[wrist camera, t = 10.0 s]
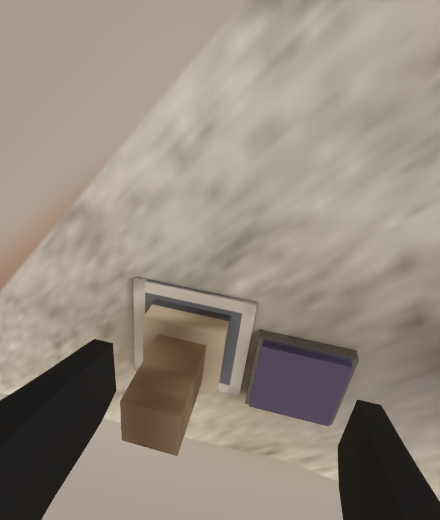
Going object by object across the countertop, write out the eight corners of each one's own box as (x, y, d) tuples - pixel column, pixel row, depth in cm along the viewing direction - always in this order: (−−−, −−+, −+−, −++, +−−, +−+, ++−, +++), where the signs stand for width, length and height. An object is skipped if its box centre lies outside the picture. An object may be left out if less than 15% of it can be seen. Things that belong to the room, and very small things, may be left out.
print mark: (257, 302, 21) (257, 305, 20) (239, 392, 24) (239, 396, 24) (135, 276, 22) (133, 279, 21) (136, 366, 25) (134, 369, 25)
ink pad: (356, 351, 21) (359, 365, 20) (330, 415, 23) (332, 430, 22) (260, 329, 21) (258, 342, 20) (246, 394, 24) (244, 408, 23)
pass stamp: (230, 315, 21) (203, 408, 15) (222, 372, 23) (194, 472, 17) (155, 299, 22) (99, 381, 16) (154, 356, 24) (105, 446, 18)
